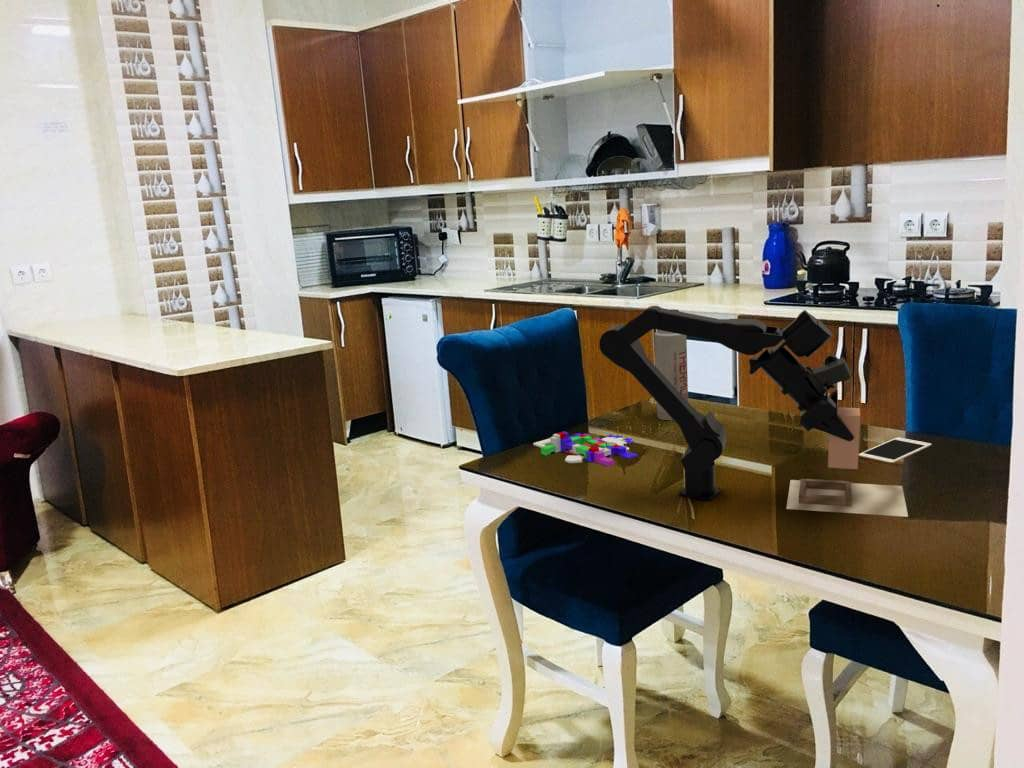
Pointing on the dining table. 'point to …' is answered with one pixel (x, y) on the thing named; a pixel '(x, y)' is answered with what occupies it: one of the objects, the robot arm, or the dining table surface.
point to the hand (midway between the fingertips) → (851, 435)
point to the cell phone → (894, 450)
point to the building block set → (586, 447)
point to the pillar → (845, 441)
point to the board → (846, 497)
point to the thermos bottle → (671, 363)
